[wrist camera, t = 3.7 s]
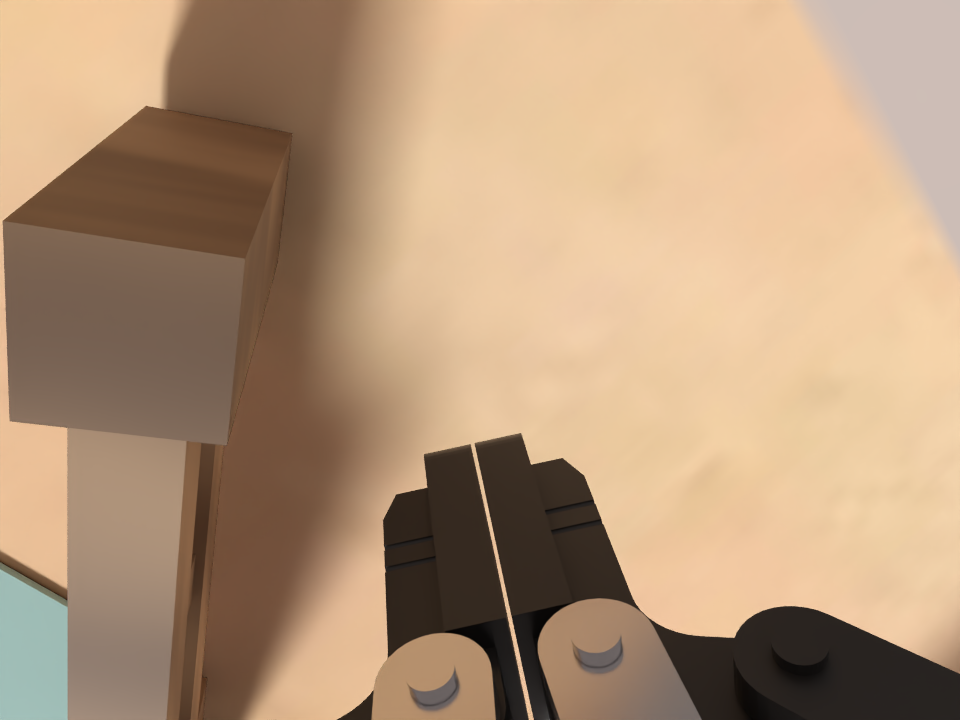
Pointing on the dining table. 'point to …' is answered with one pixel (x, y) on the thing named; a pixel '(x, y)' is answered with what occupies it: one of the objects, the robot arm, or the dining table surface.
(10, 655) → the open mat
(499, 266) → the dining table surface
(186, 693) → the gate
